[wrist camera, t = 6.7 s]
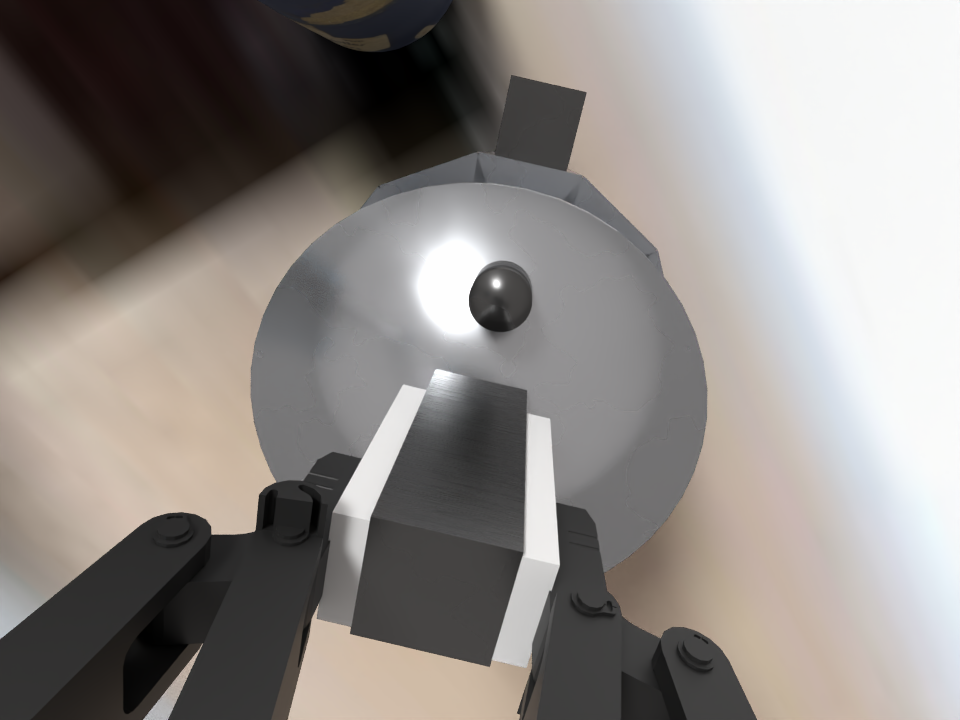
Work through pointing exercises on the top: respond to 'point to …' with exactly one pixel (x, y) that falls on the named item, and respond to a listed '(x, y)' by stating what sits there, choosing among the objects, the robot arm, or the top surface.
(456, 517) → the lid
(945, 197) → the top surface
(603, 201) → the cooker pot
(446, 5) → the canister
